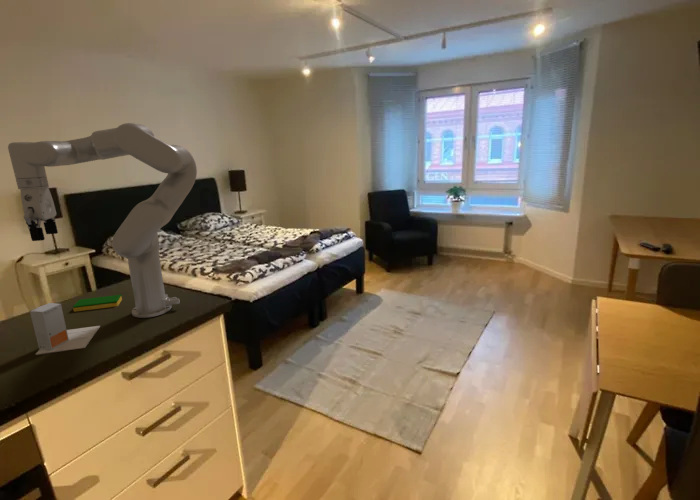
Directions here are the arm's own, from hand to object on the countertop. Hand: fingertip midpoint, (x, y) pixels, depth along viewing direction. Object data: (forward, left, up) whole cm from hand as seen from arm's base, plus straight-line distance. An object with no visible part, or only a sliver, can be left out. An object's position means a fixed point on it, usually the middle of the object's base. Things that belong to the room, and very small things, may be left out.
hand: (45, 237), depth 122 cm
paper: (-8, +19, -28) cm, 35 cm away
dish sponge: (-8, -8, -29) cm, 31 cm away
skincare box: (-5, +22, -28) cm, 36 cm away
